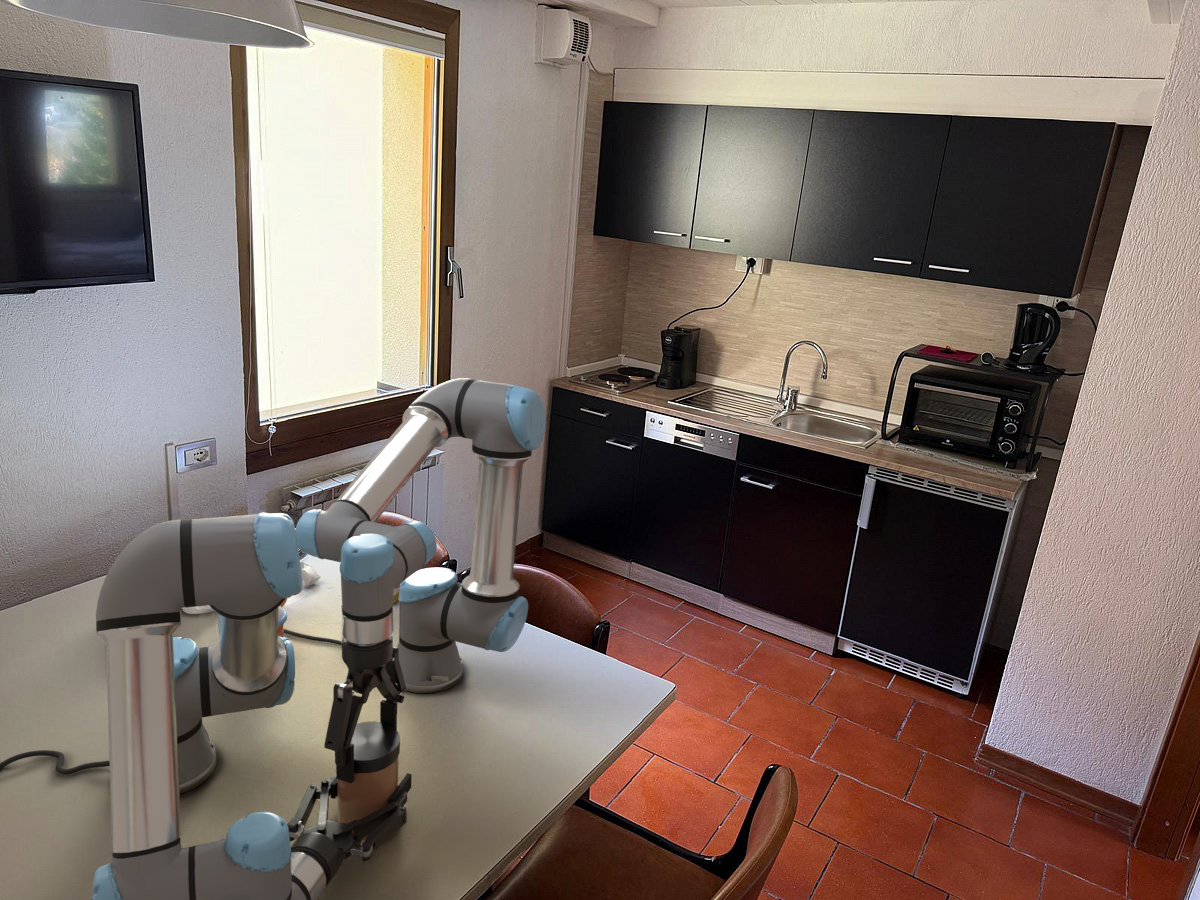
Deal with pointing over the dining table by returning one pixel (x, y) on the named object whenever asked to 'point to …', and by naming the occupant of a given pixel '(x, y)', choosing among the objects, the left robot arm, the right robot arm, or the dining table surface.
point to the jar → (365, 793)
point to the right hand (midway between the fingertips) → (367, 757)
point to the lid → (374, 746)
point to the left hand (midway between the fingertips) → (381, 773)
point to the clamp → (308, 574)
